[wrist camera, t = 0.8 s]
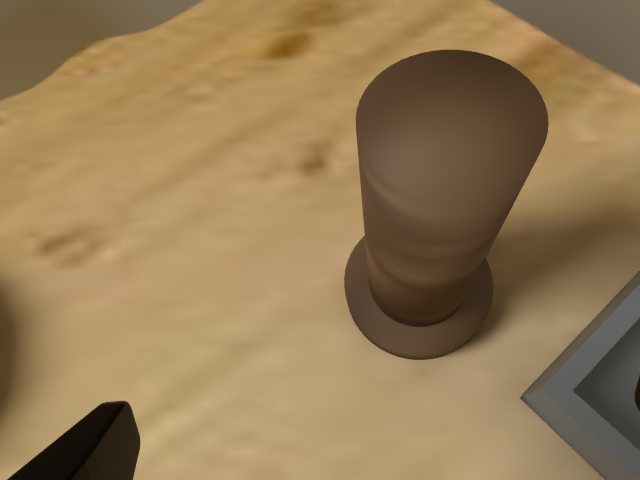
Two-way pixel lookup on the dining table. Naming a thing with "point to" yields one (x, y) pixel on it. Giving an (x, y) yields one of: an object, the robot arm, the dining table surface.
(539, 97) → the handle
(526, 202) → the dining table surface
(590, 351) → the box
